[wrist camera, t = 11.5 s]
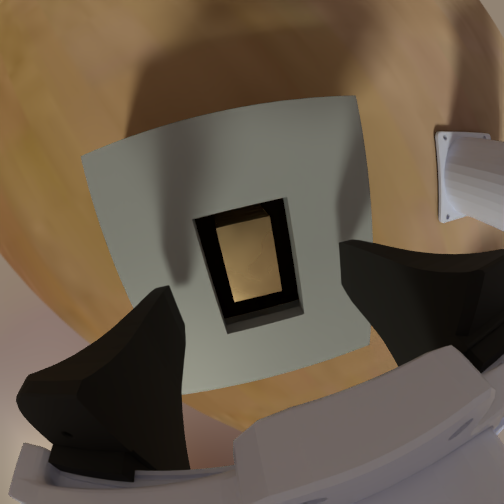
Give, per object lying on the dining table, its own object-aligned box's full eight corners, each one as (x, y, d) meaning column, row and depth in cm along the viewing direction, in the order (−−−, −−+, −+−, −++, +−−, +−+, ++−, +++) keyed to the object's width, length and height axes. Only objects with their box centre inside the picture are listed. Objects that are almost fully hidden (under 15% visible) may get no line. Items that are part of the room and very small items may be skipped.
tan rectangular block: (253, 197, 17) (269, 216, 12) (263, 254, 19) (281, 290, 14) (214, 206, 17) (215, 228, 12) (227, 263, 18) (234, 302, 14)
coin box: (309, 109, 15) (355, 95, 10) (333, 297, 21) (369, 344, 15) (122, 152, 15) (80, 156, 9) (184, 335, 20) (181, 394, 14)
